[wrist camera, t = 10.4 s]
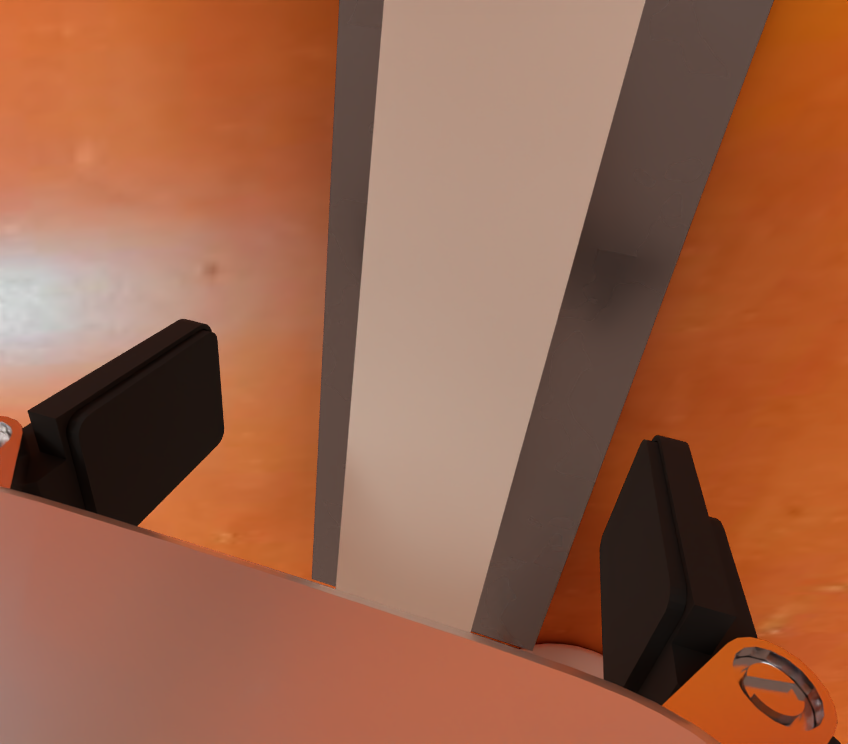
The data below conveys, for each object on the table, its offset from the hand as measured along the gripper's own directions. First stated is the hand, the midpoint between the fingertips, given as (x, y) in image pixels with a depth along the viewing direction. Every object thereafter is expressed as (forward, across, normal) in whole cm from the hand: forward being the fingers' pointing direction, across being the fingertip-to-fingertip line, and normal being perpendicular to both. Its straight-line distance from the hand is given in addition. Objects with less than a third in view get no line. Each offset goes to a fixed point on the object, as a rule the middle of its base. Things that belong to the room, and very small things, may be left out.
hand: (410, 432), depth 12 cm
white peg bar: (+9, 0, +1) cm, 9 cm away
